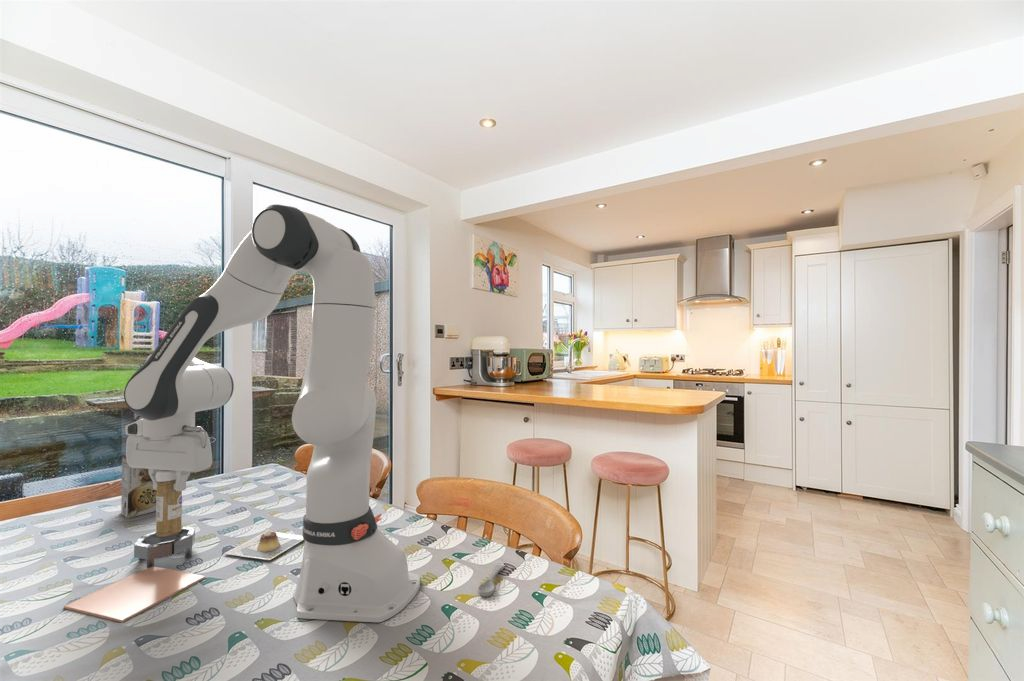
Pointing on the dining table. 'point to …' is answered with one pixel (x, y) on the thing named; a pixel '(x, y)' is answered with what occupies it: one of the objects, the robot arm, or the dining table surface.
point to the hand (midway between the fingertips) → (169, 489)
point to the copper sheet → (134, 593)
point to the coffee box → (136, 491)
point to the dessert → (266, 543)
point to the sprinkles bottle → (167, 505)
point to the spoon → (489, 582)
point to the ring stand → (164, 545)
